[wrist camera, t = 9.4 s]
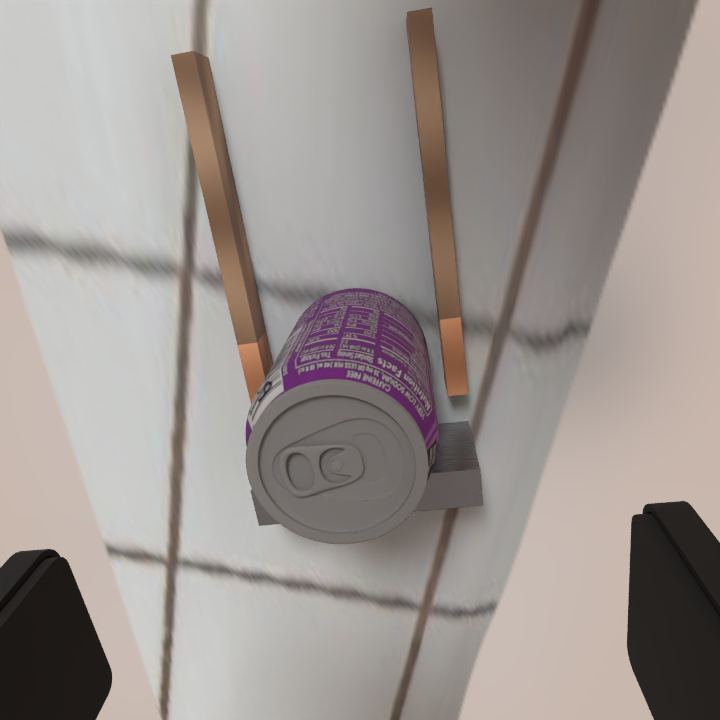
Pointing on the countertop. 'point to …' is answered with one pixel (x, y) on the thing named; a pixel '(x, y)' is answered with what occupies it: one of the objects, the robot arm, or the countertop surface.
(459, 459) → the guide channel
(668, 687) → the robot arm
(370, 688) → the countertop surface
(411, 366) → the beverage can
